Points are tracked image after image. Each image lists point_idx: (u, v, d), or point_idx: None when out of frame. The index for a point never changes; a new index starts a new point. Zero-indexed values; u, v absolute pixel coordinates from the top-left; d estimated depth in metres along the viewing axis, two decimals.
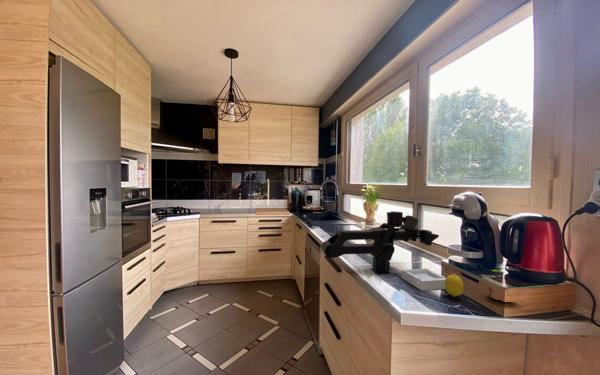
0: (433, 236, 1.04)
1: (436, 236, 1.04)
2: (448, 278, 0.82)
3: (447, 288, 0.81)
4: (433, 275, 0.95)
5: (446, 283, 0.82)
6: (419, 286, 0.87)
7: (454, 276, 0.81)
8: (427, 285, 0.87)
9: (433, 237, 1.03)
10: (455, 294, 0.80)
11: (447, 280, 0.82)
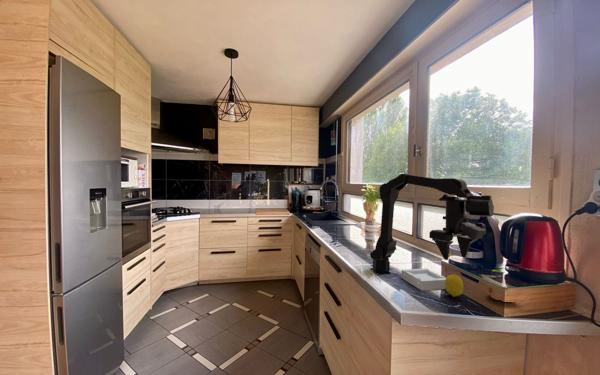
0: (444, 250, 0.80)
1: (444, 255, 0.80)
2: (448, 278, 0.82)
3: (447, 288, 0.81)
4: (433, 275, 0.95)
5: (446, 283, 0.82)
6: (419, 286, 0.87)
7: (454, 276, 0.81)
8: (427, 285, 0.87)
9: (442, 249, 0.80)
10: (455, 294, 0.80)
11: (447, 280, 0.82)
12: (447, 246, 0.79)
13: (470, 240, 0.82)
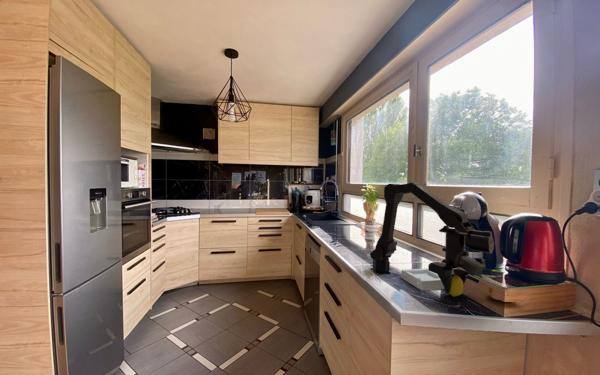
0: (446, 283, 0.80)
1: (446, 288, 0.81)
2: None
3: None
4: (433, 275, 0.95)
5: None
6: (419, 286, 0.87)
7: None
8: (427, 285, 0.87)
9: (444, 282, 0.81)
10: (455, 294, 0.80)
11: None
12: (449, 279, 0.79)
13: (466, 273, 0.81)
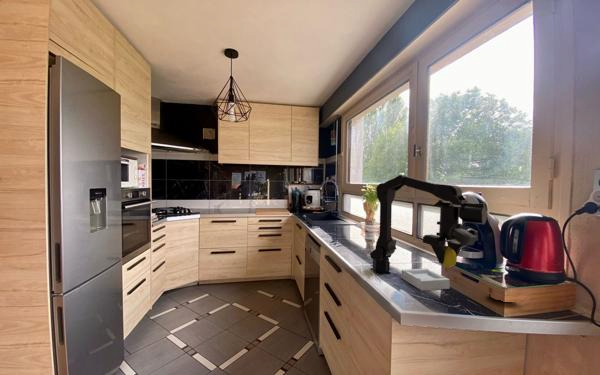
0: (439, 254, 0.83)
1: (439, 259, 0.83)
2: None
3: None
4: (433, 275, 0.95)
5: None
6: (419, 286, 0.87)
7: (448, 248, 0.83)
8: (427, 285, 0.87)
9: (438, 253, 0.83)
10: (448, 265, 0.82)
11: None
12: (443, 251, 0.81)
13: (459, 246, 0.84)
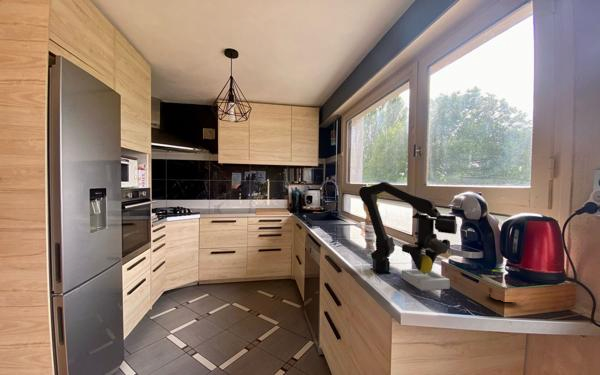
0: (417, 262, 0.92)
1: (417, 266, 0.92)
2: None
3: None
4: (433, 275, 0.95)
5: None
6: (419, 286, 0.87)
7: (424, 256, 0.93)
8: (427, 285, 0.87)
9: (416, 261, 0.92)
10: (425, 271, 0.91)
11: None
12: (419, 258, 0.90)
13: (435, 254, 0.93)
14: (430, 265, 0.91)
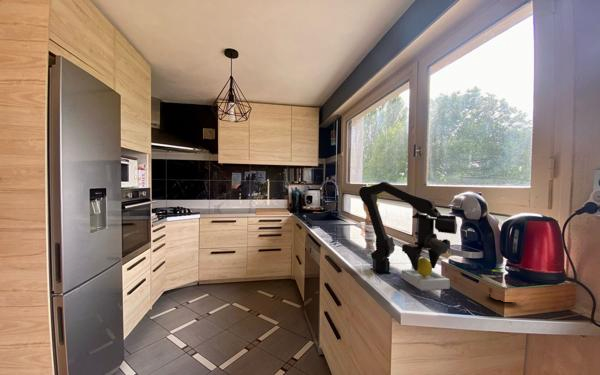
0: (414, 262, 0.91)
1: (414, 266, 0.92)
2: (418, 261, 0.94)
3: (418, 270, 0.93)
4: (433, 275, 0.95)
5: None
6: (419, 286, 0.87)
7: (423, 259, 0.93)
8: (427, 285, 0.87)
9: (413, 261, 0.92)
10: (424, 274, 0.92)
11: (418, 263, 0.94)
12: (416, 259, 0.90)
13: (438, 253, 0.93)
14: (429, 268, 0.91)
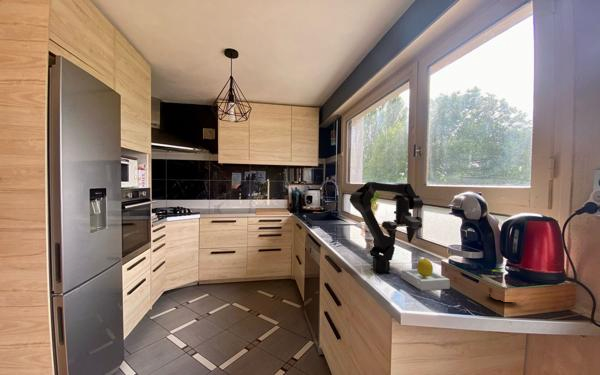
0: (392, 236, 1.08)
1: (392, 240, 1.08)
2: (419, 261, 0.93)
3: (418, 270, 0.93)
4: (433, 275, 0.95)
5: (418, 266, 0.93)
6: (419, 286, 0.87)
7: (425, 260, 0.92)
8: (427, 285, 0.87)
9: (391, 236, 1.08)
10: (425, 275, 0.91)
11: (419, 263, 0.93)
12: (393, 233, 1.07)
13: (413, 229, 1.09)
14: (430, 269, 0.91)
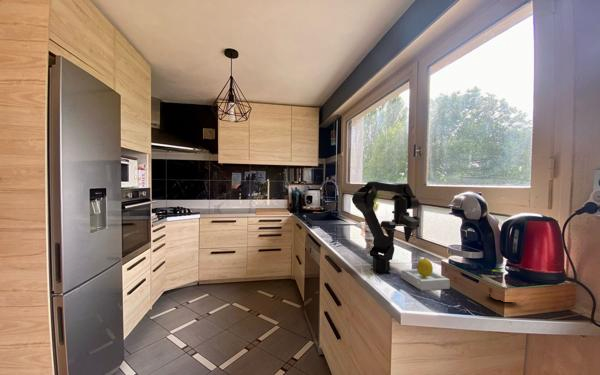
0: (390, 236, 1.09)
1: None
2: (419, 261, 0.93)
3: (418, 270, 0.93)
4: (433, 275, 0.95)
5: (417, 266, 0.93)
6: (419, 286, 0.87)
7: (424, 260, 0.93)
8: (427, 285, 0.87)
9: (389, 235, 1.09)
10: (425, 275, 0.91)
11: (418, 263, 0.93)
12: (392, 232, 1.08)
13: (411, 229, 1.11)
14: (430, 269, 0.91)
